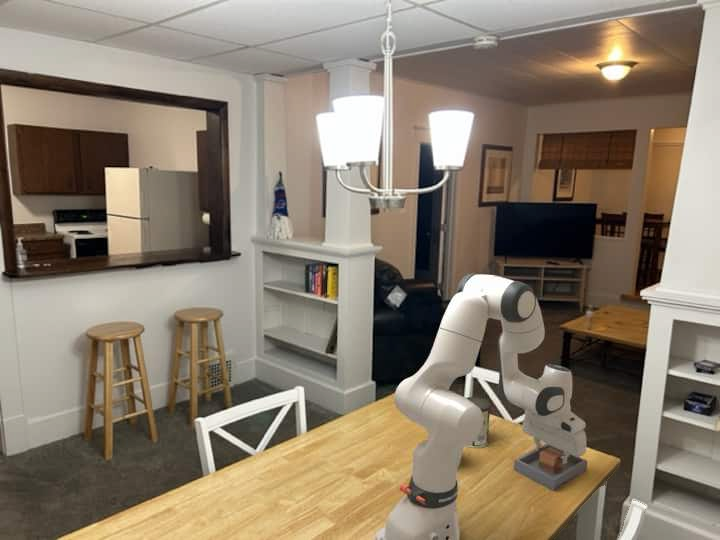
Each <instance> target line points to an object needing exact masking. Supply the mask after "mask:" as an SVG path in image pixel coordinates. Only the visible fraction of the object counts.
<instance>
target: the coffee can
mask: <svg viewBox="0 0 720 540" xmlns="http://www.w3.org/2000/svg"><path fill="white" fill-rule="evenodd" d="M466 398H467V399H468V400H470V401H471V402H472V403H474V404H475V405H476V406H477V407H479V408H480V409H481V411H482V414H483V419H484V423H483V429H482V432H481V434H480V435H479V437H478V438H477V439H476V440H475V441H474V442H472V443H470V444H468V445H465V446H464V447H468V448H473V449H480V448H484V447H486V446H487V445H488V444H489V429H490V426H489V425H490V411H491V410H490V408H491V403H490V402H489V400H487V399H484V398H482V397H475V396H467V397H466Z"/></svg>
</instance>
